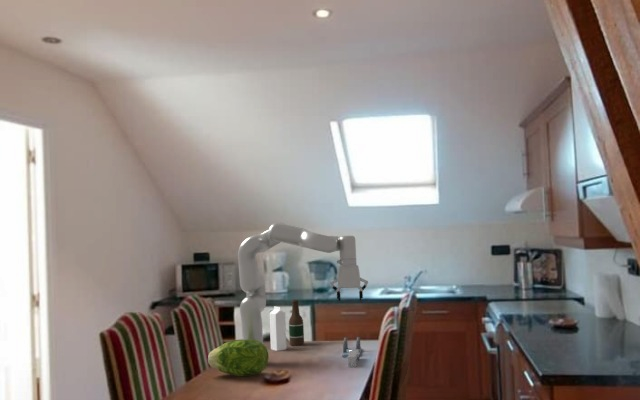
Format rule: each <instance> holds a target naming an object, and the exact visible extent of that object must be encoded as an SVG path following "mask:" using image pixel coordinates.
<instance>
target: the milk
mask: <svg viewBox="0 0 640 400" xmlns="http://www.w3.org/2000/svg"><path fill="white" fill-rule="evenodd" d="M286 323H287V321H286V312H284V311H282V310H281V307H280V306H273V310H271V311H270V312H269V335H270V337H269V338H270V350H272V351H276V352H279V351H285V350H287V349H288V348H287V329H286V328H287V326H286Z"/></svg>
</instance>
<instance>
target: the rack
mask: <svg viewBox="0 0 640 400" xmlns="http://www.w3.org/2000/svg"><path fill="white" fill-rule="evenodd" d="M348 345H349V344H348V337H344V338H343V340H342V358H348V354H349V349H359V357H360V355H361V352H362V346H361V337H360V336H359V337H358V336H357V337H356V340H355V345H356V346H348Z"/></svg>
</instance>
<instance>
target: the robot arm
mask: <svg viewBox="0 0 640 400" xmlns="http://www.w3.org/2000/svg"><path fill="white" fill-rule="evenodd" d="M280 243H283V244H289V245H292V246H296V247H300V248H305V249H309V250H313V251H314V250H315V251H318V252H323V253H327V254H331V253H335V252H339V259H337V260H336V264H338V265H339V266H338V268H337V278H336V279H334V280H332V281H331V282H330V284H329V285H330V286H331V288H332V289H333V290H334V291H335V293H336V300H338V301H339V302H340V301H341V292H340V290H341V289H354V288H357V289H358V290H359V293H358V295H359V301H362V299H363V297H364V294H363V291H364V290H365V289H366V288H367V285H368V284H369V280H366V279H364V278H362V277H361V275H360V269H359V268H360V267H359V265H358V264H357V247H356V246H357V245H356V237H355V236H354V235H341V236H338V235H337V236H336V235H324V234H321V233H316V232H312V231H311V230H308V229H307V228H303V227H298V226H294V225H293V226H292V225H290V224H285V223H282V222H274V223H271V225H270V226H269V228H268V229H267V230H266V231H263V232H262V233H260V234H255V235H251V236H249V237H247V238H245V239H244V240H243V241H242V242H241V244H240V245H239V248H238V250H237V258H238V273H239V274H238V276H239V286H240V289H241V290H242V291H243V292H244V293H245V295H246V297H244V298H243V299H242V301H241V302H240V305H239V312H240V313H239V314H240V319H241V320H240V321H241V337H242V338H241V339H251V340H256V341H259V342H261V343H262V344H263V345H264V337H263V334H264V333H263V318H262V312H263V311H264V310H265V308H266V306H267V298H266V297H267V296H266V288H265V287H266V286H265V279H264V277H263V275H262V274H261V273H260V272H259V271H258V263H257V259H256V257H257V256H256V255H257V254H261V253H264V252H267V251H269V250H270V249H272V248H273V247H276V246H277V245H279V244H280ZM361 282H363V283H364V284H363V285H362V286H361ZM336 283H337V286H338V287H337V286H336V285H335V284H336Z"/></svg>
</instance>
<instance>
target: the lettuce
mask: <svg viewBox="0 0 640 400" xmlns="http://www.w3.org/2000/svg"><path fill="white" fill-rule="evenodd" d="M207 361H208V365H210V367H212V368H213V369H216V370H218V371H220V372H222V373H224V374H227V375H231V376H237V377H249V376H254V375H259V374H261V373H262V372H263V371H264V370H266V368H267V366H268V363H269V351H268V348H267V346H266V345H265V344H264V343H263V344H262V343H261V342H259V341H256V340H251V339H242V338H241V339H234V340H229V341H227V342H224V343H222V344H221V345H220V346H218V347H216V348H213V350H211V351H210V352H209V353H208V358H207Z"/></svg>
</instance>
